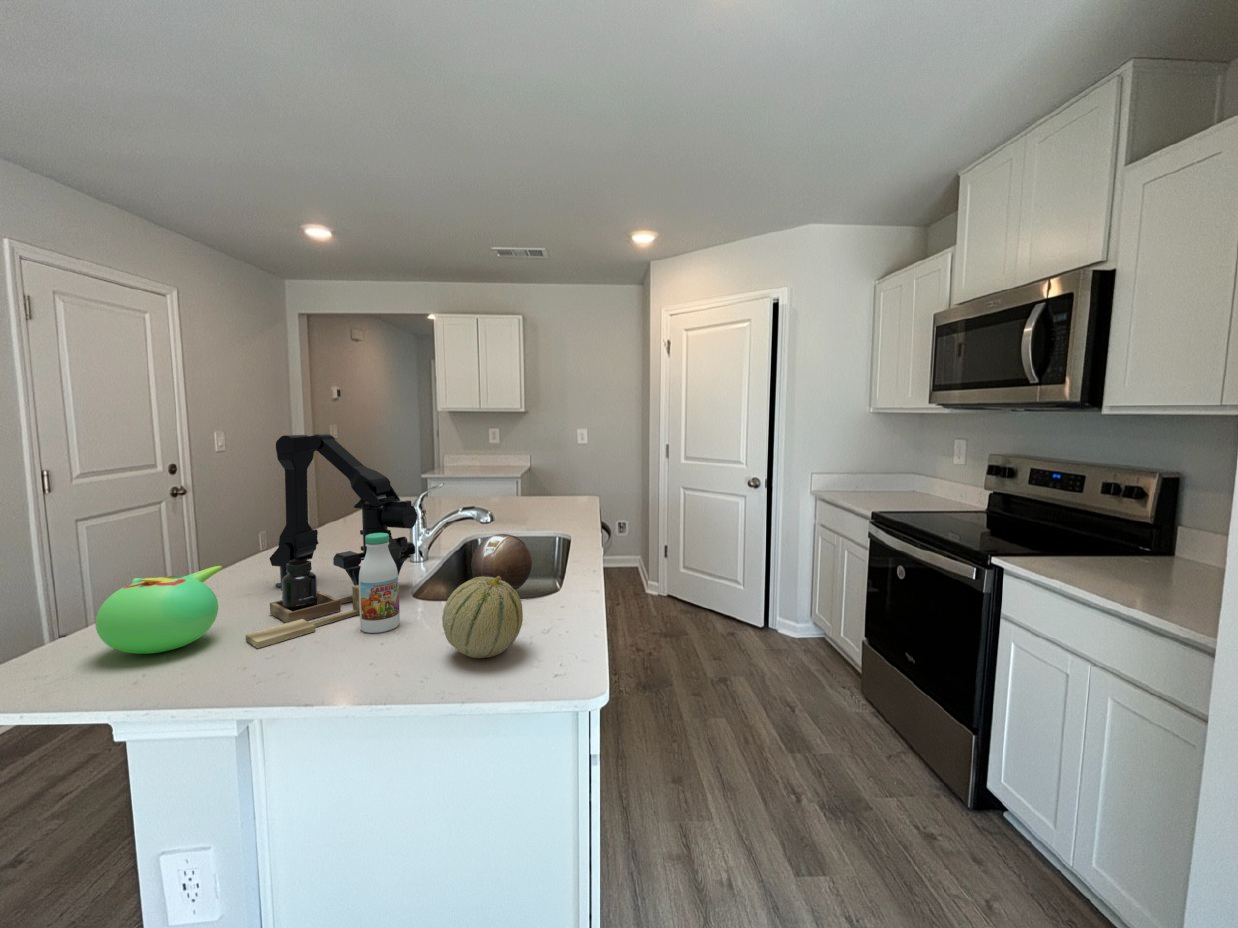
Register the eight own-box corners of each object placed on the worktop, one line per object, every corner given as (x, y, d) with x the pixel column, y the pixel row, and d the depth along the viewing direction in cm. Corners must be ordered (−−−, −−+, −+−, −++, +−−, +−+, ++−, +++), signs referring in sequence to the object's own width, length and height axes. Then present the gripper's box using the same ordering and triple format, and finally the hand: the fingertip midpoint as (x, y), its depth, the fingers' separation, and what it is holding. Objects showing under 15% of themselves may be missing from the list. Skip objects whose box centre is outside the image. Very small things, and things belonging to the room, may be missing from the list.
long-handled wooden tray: (245, 640, 108) (243, 610, 107) (362, 607, 127) (361, 582, 126) (257, 648, 104) (255, 617, 104) (376, 612, 123) (375, 587, 123)
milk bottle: (352, 629, 114) (348, 536, 112) (383, 617, 121) (380, 529, 119) (377, 636, 110) (373, 540, 109) (407, 624, 117) (405, 533, 115)
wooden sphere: (463, 602, 131) (462, 541, 130) (481, 582, 146) (480, 528, 145) (525, 603, 131) (524, 541, 129) (537, 583, 146) (536, 528, 144)
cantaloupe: (441, 644, 107) (439, 569, 106) (516, 633, 112) (515, 562, 111) (445, 677, 93) (443, 592, 92) (530, 664, 98) (529, 583, 97)
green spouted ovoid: (76, 673, 94) (69, 591, 93) (134, 635, 111) (128, 565, 109) (197, 661, 99) (192, 582, 98) (235, 626, 115) (231, 559, 114)
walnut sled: (270, 613, 122) (268, 587, 122) (372, 587, 141) (371, 564, 141) (290, 624, 116) (289, 597, 115) (394, 595, 135) (393, 572, 134)
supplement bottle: (306, 620, 119) (303, 567, 118) (276, 619, 119) (273, 566, 118) (324, 609, 126) (322, 558, 125) (295, 608, 126) (293, 558, 125)
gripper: (354, 537, 123) (356, 604, 125) (427, 524, 138) (428, 584, 139) (330, 530, 130) (333, 594, 131) (402, 519, 145) (404, 576, 146)
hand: (377, 587), depth 137 cm, fingers open, 9 cm apart
